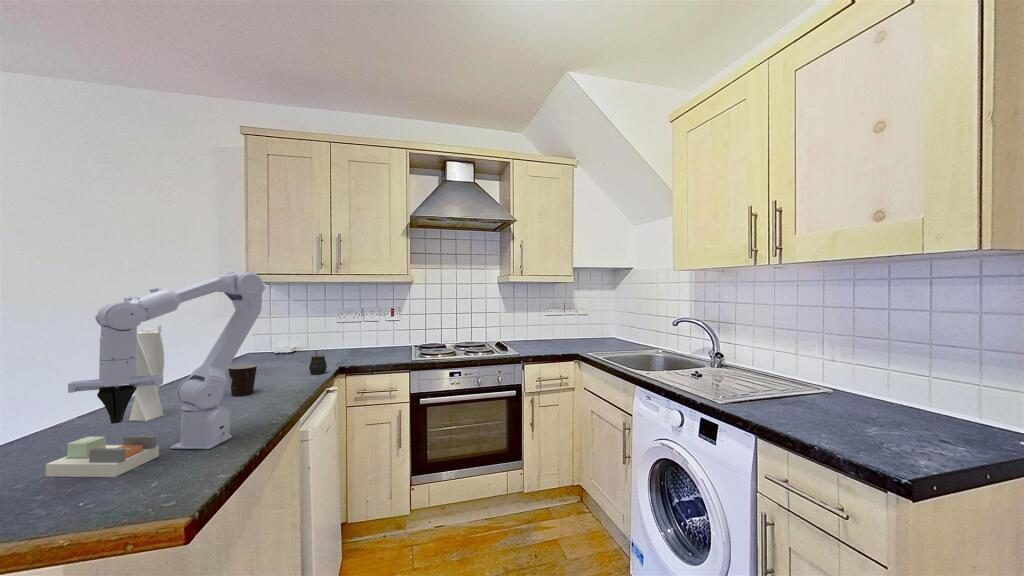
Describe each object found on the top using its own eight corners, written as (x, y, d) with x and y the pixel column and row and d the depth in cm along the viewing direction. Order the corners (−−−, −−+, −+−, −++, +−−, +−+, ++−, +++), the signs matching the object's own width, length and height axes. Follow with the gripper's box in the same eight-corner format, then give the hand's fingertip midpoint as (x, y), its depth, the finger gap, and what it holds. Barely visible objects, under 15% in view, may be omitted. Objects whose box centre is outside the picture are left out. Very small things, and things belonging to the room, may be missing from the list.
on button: (105, 451, 88) (106, 436, 88) (86, 459, 84) (86, 443, 84) (87, 451, 88) (87, 436, 88) (67, 459, 84) (67, 443, 84)
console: (159, 456, 91) (159, 434, 91) (116, 477, 81) (116, 452, 81) (96, 456, 91) (97, 433, 91) (45, 476, 81) (46, 451, 81)
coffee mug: (232, 392, 148) (232, 365, 148) (259, 390, 151) (259, 363, 151) (221, 400, 137) (222, 371, 137) (251, 398, 140) (251, 369, 140)
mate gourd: (313, 376, 177) (313, 353, 177) (305, 374, 181) (305, 351, 181) (329, 373, 182) (329, 351, 182) (321, 371, 187) (321, 350, 187)
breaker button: (142, 460, 88) (142, 444, 88) (124, 468, 84) (124, 452, 84) (123, 460, 88) (124, 444, 88) (105, 468, 84) (105, 452, 84)
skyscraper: (173, 415, 121) (175, 322, 122) (146, 424, 113) (148, 325, 114) (148, 414, 122) (149, 322, 122) (120, 422, 114) (121, 324, 114)
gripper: (166, 353, 93) (165, 412, 93) (79, 358, 86) (77, 421, 86) (158, 358, 87) (157, 420, 87) (63, 363, 80) (62, 431, 79)
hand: (117, 422), depth 86 cm, fingers closed
